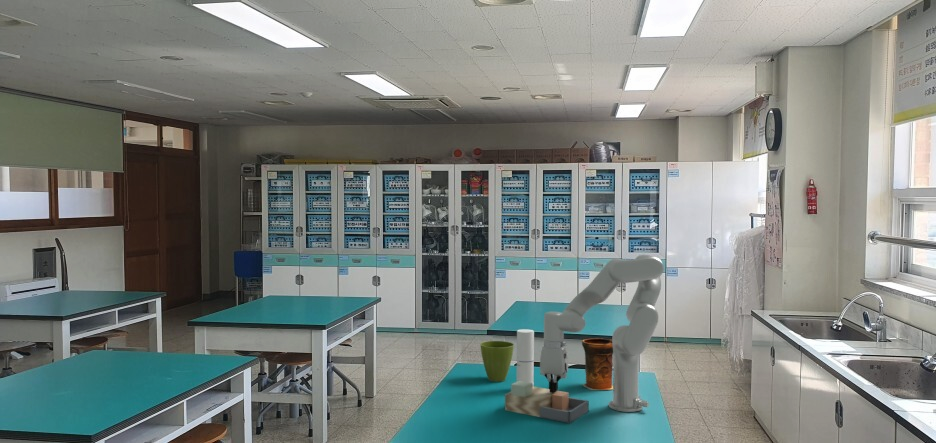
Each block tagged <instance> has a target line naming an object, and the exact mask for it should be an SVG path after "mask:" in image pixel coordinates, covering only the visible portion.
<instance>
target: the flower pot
mask: <svg viewBox="0 0 936 443" xmlns="http://www.w3.org/2000/svg"><path fill="white" fill-rule="evenodd" d="M479 347H480V353H481V358H482V363H483V365H484V369H485V373H486V376H487V379H488V380H489V381H490V382H495V383H496V382H497V383H498V382H504V381H506V379H507V376H508V374H509V370H510V367H511V363H512V359H513V358H512V357H513V352H514V348H515V346H514V343H513V342H509V341H503V340H501V341H500V340H487V341H483V342H481V343H480V345H479Z"/></svg>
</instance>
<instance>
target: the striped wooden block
mask: <svg viewBox="0 0 936 443" xmlns="http://www.w3.org/2000/svg"><path fill="white" fill-rule="evenodd" d="M558 391H559V390H557V391H556V392H558ZM556 392H554V393H552V392H550V389H549V388H544V387H539V386H533V394H531V395H529V396H527V397H521V396H515V395H511V391H509V392H508V393H505V395H504V399H505V400H504V411H508V412H513V413H517V414H521V415H522V414H524V415H527V416H533V417H538V418H540V406H542V407H547V408H552V395H553V394H555V393H556Z"/></svg>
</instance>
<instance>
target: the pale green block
mask: <svg viewBox="0 0 936 443" xmlns="http://www.w3.org/2000/svg"><path fill="white" fill-rule="evenodd" d="M510 385H511V386H510V392H511V395H515V396H521V397H527V396H529V395H531V394H533V383H529V382H523V381H517V380H516V382H513V383H511V384H510Z"/></svg>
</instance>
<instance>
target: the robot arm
mask: <svg viewBox="0 0 936 443" xmlns="http://www.w3.org/2000/svg"><path fill="white" fill-rule="evenodd" d="M664 266H665V265H664V263H663V261H662V260H661V258H659V257H657V256H654V255H653V256H652V255H649V254H640V255H638V256H636V257H635V259H621V258H613V259H611V260H609V261H608V262H607V263H606V264H605V265H604V267H603V268H602V269H601V270H600V271H599V273H597V275H596V276H595V277H594V278H593V280H592V281H591V282H590V284H588V285H587V286H586V287H585V288H584V289H583V290H582V291H581V292H579V293H578V294H577V295H576V296H575V297H574V298H573V299H572V300H571V301H570V302H569V303H568V305H566V307H565V308H564V310H563V311H562V312H560V311H555V310H554V311H547V312H545V313H544V315H543V346H542V348H541V351H540V358H539V360H540V361H539V370H540V375H541V376H543V377H545V378H546V379H547V381H548V389H550V392H552V393H554V392H556V391H559V390H558V389H559V387H558V386H559V385H558V384H559V381H560V380H563V379H566V378H568V376H567V374H568V372H569V360H568V355H567V350H566V347H567V346H568V344H567V342H565V340H564V338H565V335H564V334H565V333H564V332H567V333H580V332H582V330H584V329H585V327H586V320H585V318H584V316H585V314H586V313H587V312H588V311H589V310H591V309H592V307H594V306H596V305H598V304H602V303H604V302H605V301H607V299H608V298H609V297H610V295H612V293H613V292H614V291H615V290H616V289H617V287H618V286H619V285H620V284H626V283H627V284H628V283H636V282H637V283H638V284H637V288H636V290H635V293H634V295H633V296H632V298H631V301H630V303H629V305H628V307H627V309H626V311H625V312H626V314H625V316H626V319H627V320H628V321H629V325H626V324H625V325H620V326H618V327H616V328H615V329H614V331H613V334H612V339H611V340H612V345H613V367H612V385H613V389H612V390H613V391H612V400H611V401H609V403H608V406H609V408H610V409H612V410H615V411H618V412H624V413H635V412H639V411H641V410H643V407H644V408H649V406H650V403H649V401H648V400H642V397H641V395H639V376H640V375H639V369H640V367H639V365H640V364H639V362H640V361H639V360H640V359H639V357H640V356H639V355H641V354H642V353H644V351H645V350H646V348H647V347H648V345H649V343H650V340H651V339H652V336H653V334H654V332H655V330H656V328H657V326H658V323H659V312H658V311H657V309H656V308H655V306H656V303H657V300H658V298H659V296H660V293H661V289H662V279H661V276H662V274H663V273H664V271H665V267H664Z"/></svg>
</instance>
